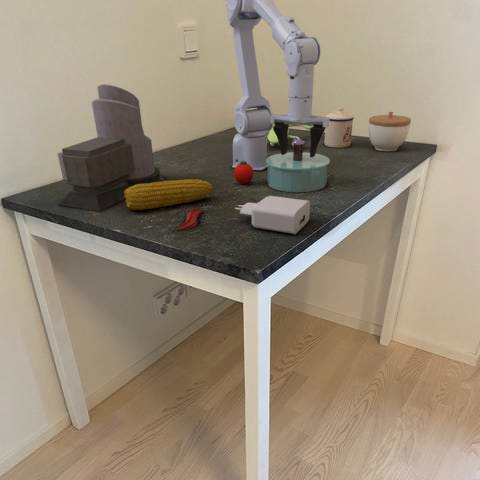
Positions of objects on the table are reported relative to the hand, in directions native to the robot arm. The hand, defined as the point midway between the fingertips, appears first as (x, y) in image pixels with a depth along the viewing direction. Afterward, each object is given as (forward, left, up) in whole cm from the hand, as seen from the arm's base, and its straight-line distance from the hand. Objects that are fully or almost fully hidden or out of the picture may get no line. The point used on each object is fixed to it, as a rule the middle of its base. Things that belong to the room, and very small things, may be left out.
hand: (298, 155), depth 121 cm
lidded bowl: (+14, +46, -7) cm, 49 cm away
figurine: (-20, +43, -7) cm, 48 cm away
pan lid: (0, 0, -2) cm, 2 cm away
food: (-22, -27, -7) cm, 36 cm away
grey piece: (-41, -22, -7) cm, 47 cm away
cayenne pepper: (-12, -34, -7) cm, 37 cm away
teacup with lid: (-2, +47, -7) cm, 48 cm away
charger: (+4, -29, -7) cm, 30 cm away
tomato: (-13, -5, -5) cm, 15 cm away
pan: (0, 0, -7) cm, 7 cm away
